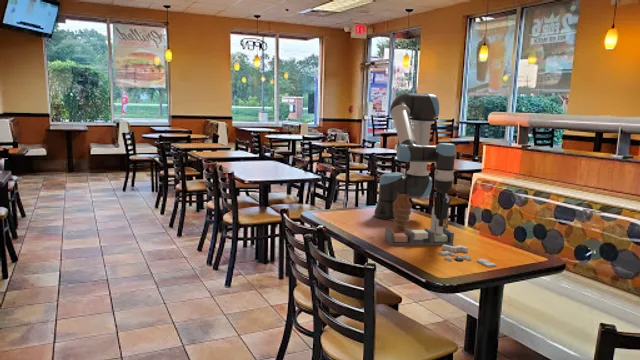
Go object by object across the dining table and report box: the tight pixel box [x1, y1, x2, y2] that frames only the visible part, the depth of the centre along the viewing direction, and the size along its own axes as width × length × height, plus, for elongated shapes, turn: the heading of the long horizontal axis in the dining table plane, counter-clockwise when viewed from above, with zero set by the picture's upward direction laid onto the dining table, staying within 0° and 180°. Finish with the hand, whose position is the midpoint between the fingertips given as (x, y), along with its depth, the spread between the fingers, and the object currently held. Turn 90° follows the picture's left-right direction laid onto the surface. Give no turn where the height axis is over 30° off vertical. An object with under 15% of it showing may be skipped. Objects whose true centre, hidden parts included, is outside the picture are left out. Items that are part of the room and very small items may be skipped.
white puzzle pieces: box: [438, 244, 497, 268], centre depth 183 cm, size 20×24×2 cm
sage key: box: [434, 233, 448, 242], centre depth 203 cm, size 5×6×2 cm
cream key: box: [410, 229, 428, 239], centre depth 201 cm, size 5×6×2 cm
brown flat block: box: [393, 232, 408, 242], centre depth 200 cm, size 5×6×2 cm
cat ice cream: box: [393, 193, 413, 231], centre depth 220 cm, size 9×8×18 cm
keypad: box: [384, 227, 455, 247], centre depth 202 cm, size 8×28×6 cm, turn 99°
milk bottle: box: [429, 205, 450, 233], centre depth 214 cm, size 8×8×20 cm
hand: (438, 233), depth 203 cm, fingers closed
